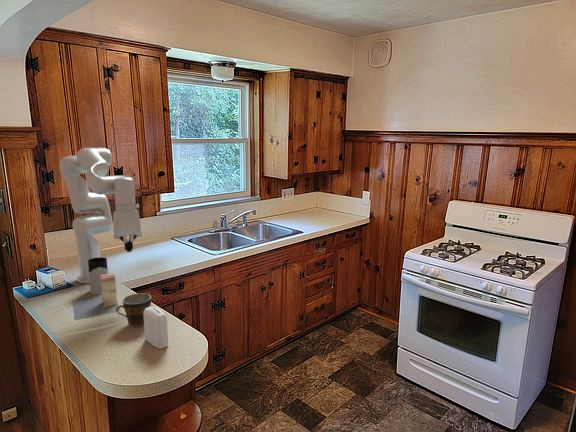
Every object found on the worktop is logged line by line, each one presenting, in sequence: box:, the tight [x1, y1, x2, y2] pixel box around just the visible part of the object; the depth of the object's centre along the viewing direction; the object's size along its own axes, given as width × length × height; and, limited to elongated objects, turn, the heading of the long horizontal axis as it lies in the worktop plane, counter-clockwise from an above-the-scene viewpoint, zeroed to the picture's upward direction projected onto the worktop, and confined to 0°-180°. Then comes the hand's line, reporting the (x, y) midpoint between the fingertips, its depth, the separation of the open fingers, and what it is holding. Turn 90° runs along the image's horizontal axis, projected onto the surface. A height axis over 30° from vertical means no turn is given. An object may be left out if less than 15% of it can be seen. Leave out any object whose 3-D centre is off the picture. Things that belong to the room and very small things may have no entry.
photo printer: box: [143, 306, 169, 350], centre depth 129 cm, size 10×4×12 cm, turn 47°
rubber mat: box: [72, 295, 121, 321], centre depth 157 cm, size 20×16×1 cm
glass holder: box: [88, 256, 109, 295], centre depth 174 cm, size 9×14×15 cm, turn 33°
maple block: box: [100, 272, 118, 307], centre depth 158 cm, size 5×5×12 cm
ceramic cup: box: [115, 292, 152, 329], centre depth 141 cm, size 13×10×10 cm
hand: (129, 251), depth 160 cm, fingers closed
